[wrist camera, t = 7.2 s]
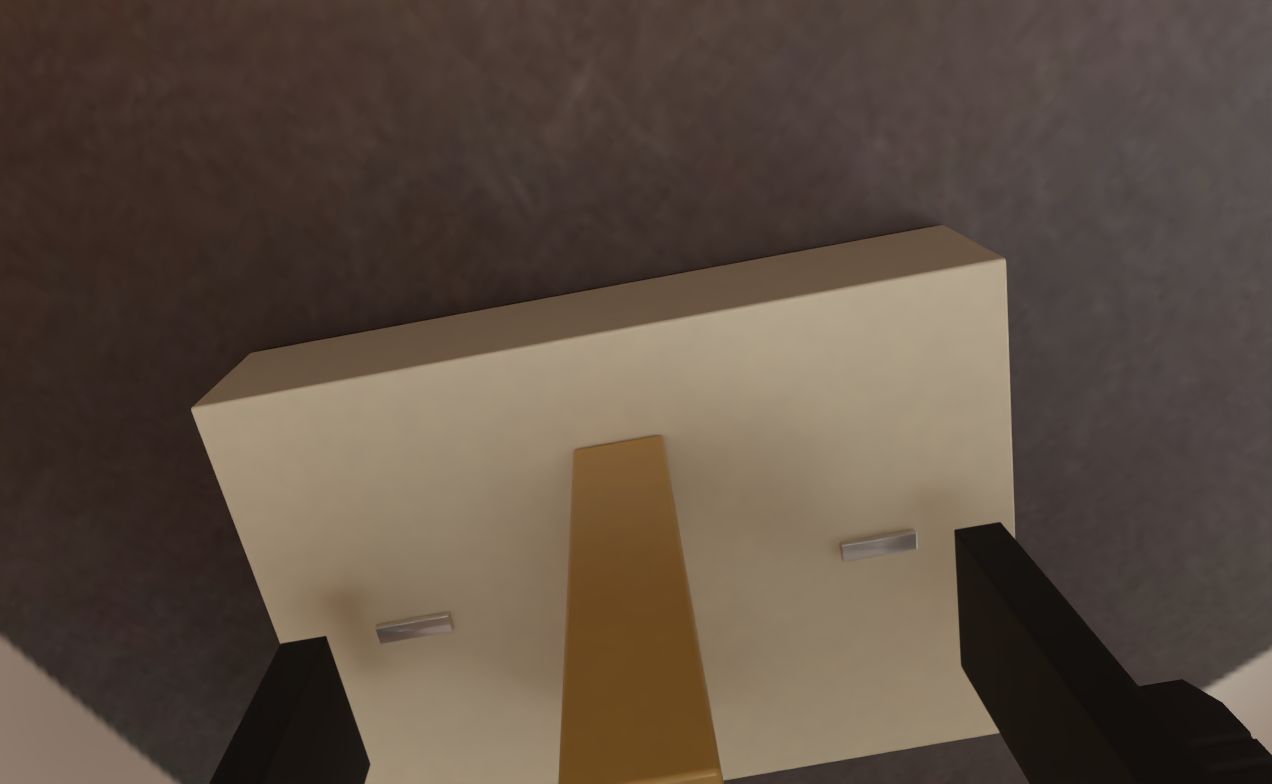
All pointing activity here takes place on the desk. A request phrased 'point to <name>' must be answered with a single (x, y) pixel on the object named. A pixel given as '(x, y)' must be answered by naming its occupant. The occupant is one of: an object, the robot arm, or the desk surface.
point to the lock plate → (702, 489)
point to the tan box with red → (631, 630)
